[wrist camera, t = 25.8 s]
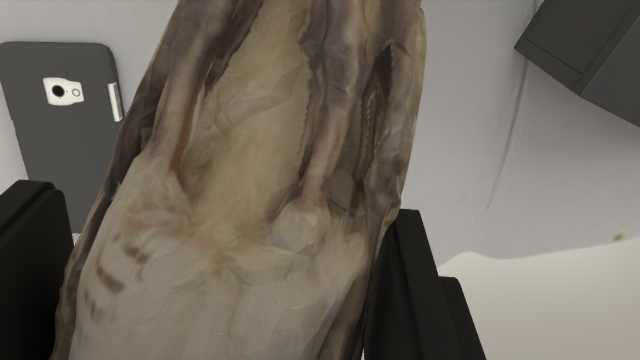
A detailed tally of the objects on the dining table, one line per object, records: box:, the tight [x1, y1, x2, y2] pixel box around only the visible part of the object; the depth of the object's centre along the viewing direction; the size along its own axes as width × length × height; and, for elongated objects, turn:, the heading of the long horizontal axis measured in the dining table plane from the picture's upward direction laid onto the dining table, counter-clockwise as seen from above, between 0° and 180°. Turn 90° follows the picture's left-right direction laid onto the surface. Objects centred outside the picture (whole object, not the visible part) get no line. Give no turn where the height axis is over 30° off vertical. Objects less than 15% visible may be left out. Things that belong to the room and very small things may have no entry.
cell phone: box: [0, 42, 125, 233], centre depth 36 cm, size 8×15×1 cm, turn 179°
